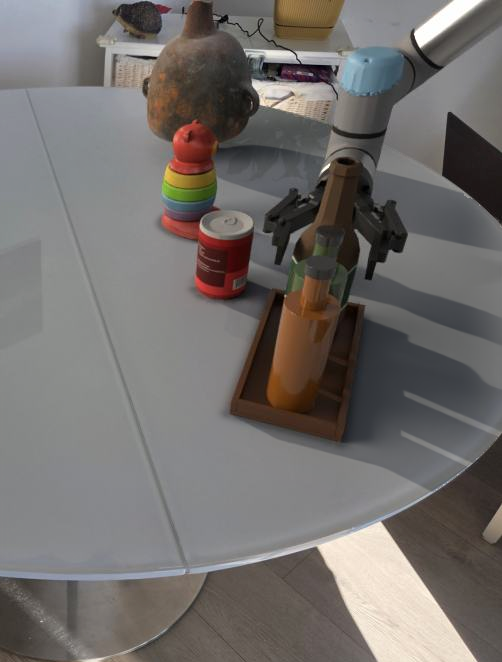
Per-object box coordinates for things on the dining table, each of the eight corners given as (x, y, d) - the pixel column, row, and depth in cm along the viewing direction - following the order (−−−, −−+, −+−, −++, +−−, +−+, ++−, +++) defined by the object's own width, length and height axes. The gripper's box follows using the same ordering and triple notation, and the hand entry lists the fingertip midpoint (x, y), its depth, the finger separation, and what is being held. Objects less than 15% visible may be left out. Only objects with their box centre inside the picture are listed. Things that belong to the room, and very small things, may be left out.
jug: (250, 130, 146) (270, -18, 127) (252, 169, 130) (274, 6, 111) (143, 129, 151) (147, -13, 133) (132, 167, 135) (134, 11, 116)
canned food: (245, 273, 101) (254, 210, 94) (246, 302, 95) (255, 237, 88) (195, 270, 102) (201, 208, 95) (193, 298, 96) (198, 234, 89)
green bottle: (326, 354, 83) (361, 222, 71) (320, 382, 79) (356, 247, 67) (280, 344, 86) (306, 215, 74) (272, 371, 82) (298, 239, 70)
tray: (361, 316, 90) (365, 304, 89) (340, 442, 72) (344, 429, 71) (269, 299, 95) (271, 287, 93) (229, 413, 77) (230, 401, 76)
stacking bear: (204, 242, 109) (214, 141, 98) (150, 231, 113) (153, 132, 102) (226, 215, 116) (237, 117, 105) (174, 205, 120) (179, 110, 109)
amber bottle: (319, 388, 79) (354, 253, 67) (312, 419, 75) (348, 282, 63) (270, 377, 81) (296, 244, 69) (261, 406, 77) (287, 272, 65)
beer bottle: (306, 351, 84) (346, 181, 69) (267, 320, 90) (296, 157, 75) (352, 333, 86) (400, 164, 71) (311, 305, 92) (348, 142, 77)
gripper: (423, 219, 90) (418, 306, 75) (261, 199, 99) (227, 272, 84) (440, 169, 85) (438, 250, 70) (268, 152, 94) (233, 221, 79)
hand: (323, 262), depth 77 cm, fingers open, 10 cm apart
